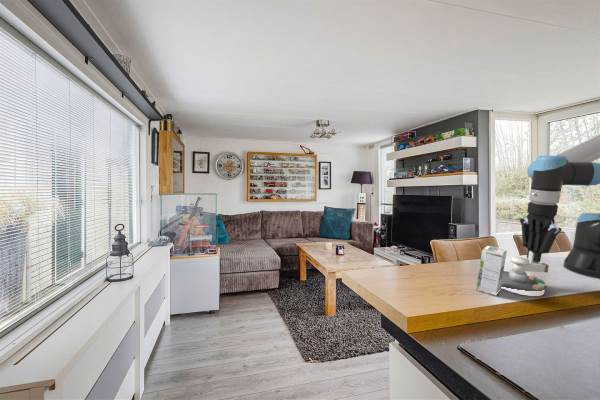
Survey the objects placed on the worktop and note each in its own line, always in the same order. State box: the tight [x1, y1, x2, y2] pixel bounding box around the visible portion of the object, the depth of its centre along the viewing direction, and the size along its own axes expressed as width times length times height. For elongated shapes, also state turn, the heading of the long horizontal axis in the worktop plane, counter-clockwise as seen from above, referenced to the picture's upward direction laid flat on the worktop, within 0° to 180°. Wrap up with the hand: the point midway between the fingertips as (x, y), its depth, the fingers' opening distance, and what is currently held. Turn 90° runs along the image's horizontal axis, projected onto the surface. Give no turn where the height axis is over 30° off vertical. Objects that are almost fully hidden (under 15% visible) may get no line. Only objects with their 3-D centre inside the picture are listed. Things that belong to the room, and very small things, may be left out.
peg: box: [510, 256, 550, 274], centre depth 95 cm, size 11×5×4 cm, turn 86°
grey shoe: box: [501, 269, 547, 291], centre depth 96 cm, size 15×15×5 cm
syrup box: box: [475, 245, 508, 293], centre depth 91 cm, size 6×6×14 cm
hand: (531, 269), depth 97 cm, fingers closed
